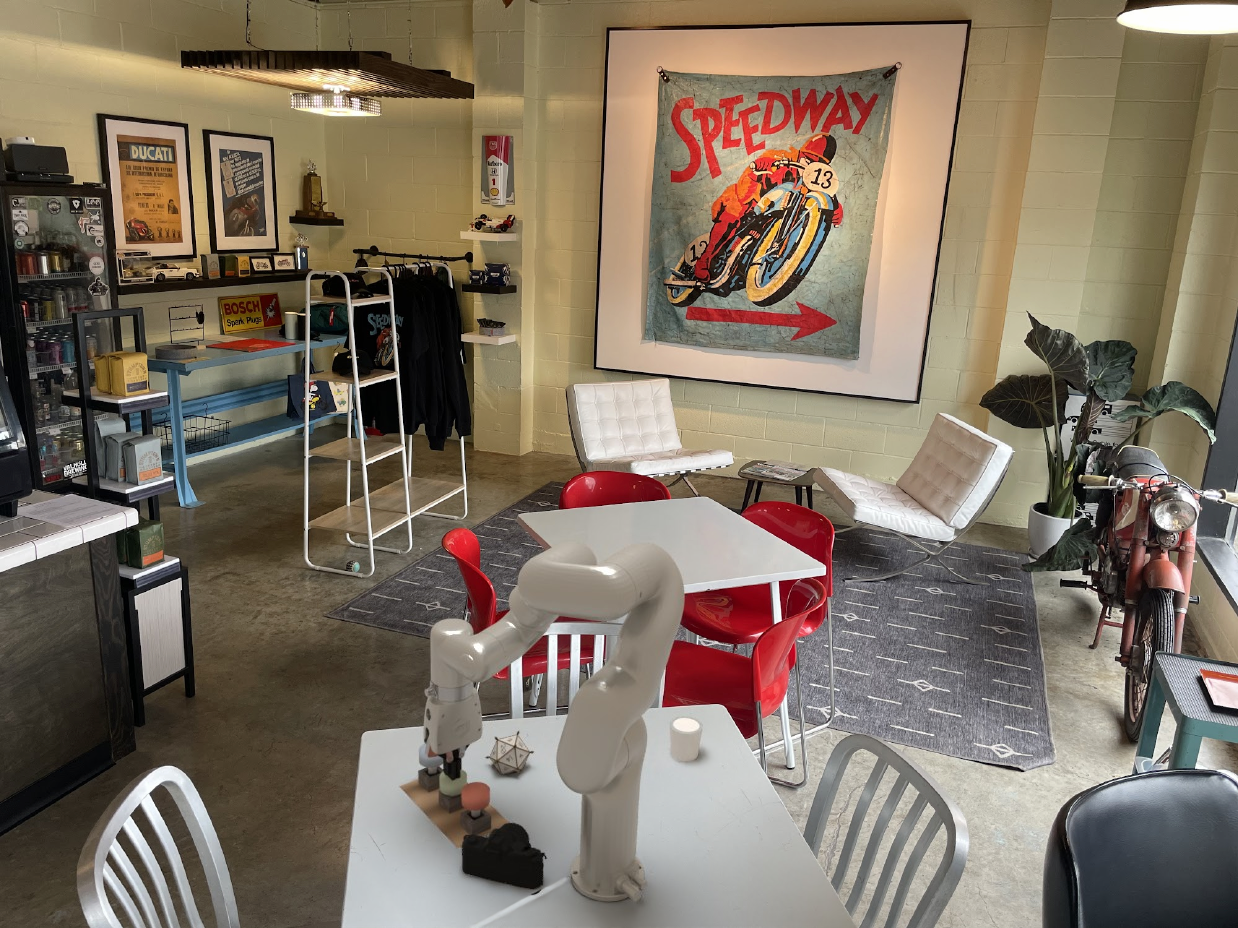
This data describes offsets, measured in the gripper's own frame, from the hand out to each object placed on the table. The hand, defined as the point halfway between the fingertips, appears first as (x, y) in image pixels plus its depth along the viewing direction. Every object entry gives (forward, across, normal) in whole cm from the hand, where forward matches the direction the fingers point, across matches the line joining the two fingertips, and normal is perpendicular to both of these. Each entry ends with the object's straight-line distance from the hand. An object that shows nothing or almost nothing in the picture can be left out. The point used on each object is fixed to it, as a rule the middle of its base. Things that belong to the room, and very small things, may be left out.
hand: (452, 775), depth 172 cm
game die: (+8, +15, +4) cm, 17 cm away
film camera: (+8, -1, -20) cm, 21 cm away
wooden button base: (+7, 0, 0) cm, 7 cm away
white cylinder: (+7, +48, -12) cm, 50 cm away
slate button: (+4, 0, +8) cm, 9 cm away
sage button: (+5, 0, 0) cm, 5 cm away
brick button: (+3, 0, -8) cm, 9 cm away
